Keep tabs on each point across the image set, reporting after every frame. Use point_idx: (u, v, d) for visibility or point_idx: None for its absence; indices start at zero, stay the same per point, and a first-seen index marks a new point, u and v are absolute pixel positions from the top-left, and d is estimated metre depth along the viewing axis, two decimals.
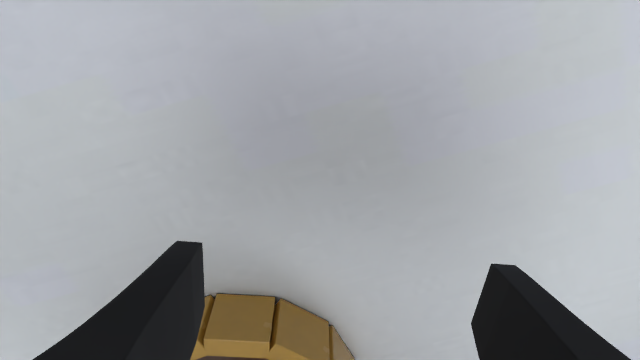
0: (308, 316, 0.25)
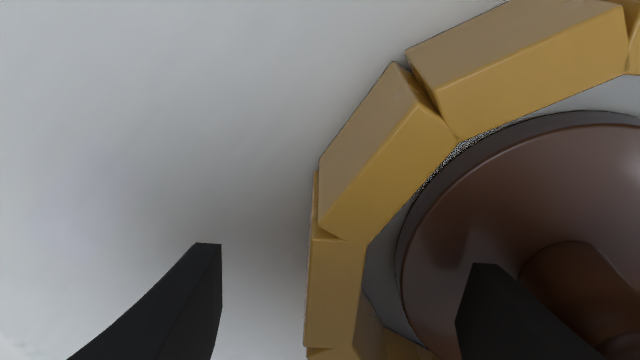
0: None
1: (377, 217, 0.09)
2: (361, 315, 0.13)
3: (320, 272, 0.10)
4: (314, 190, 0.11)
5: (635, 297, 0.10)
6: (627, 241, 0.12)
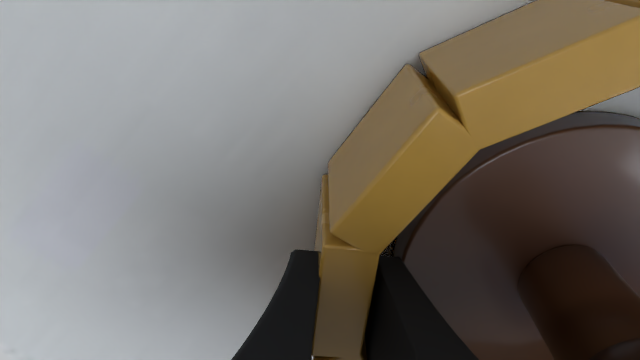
0: None
1: (392, 225, 0.09)
2: None
3: (331, 280, 0.09)
4: (323, 194, 0.11)
5: (638, 303, 0.10)
6: (629, 244, 0.12)
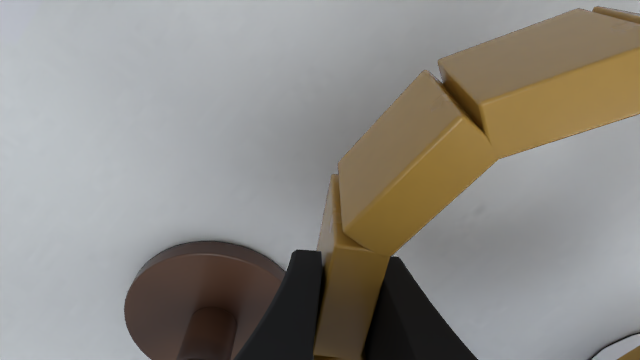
0: None
1: (405, 228, 0.09)
2: None
3: (339, 279, 0.09)
4: (333, 194, 0.11)
5: (210, 341, 0.20)
6: (240, 307, 0.22)
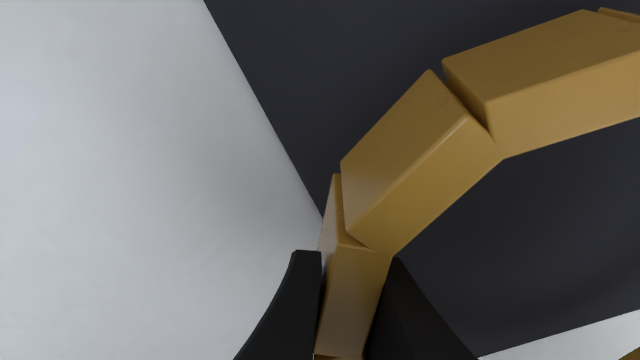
0: None
1: (408, 228, 0.09)
2: None
3: (341, 279, 0.09)
4: (335, 193, 0.11)
5: None
6: None
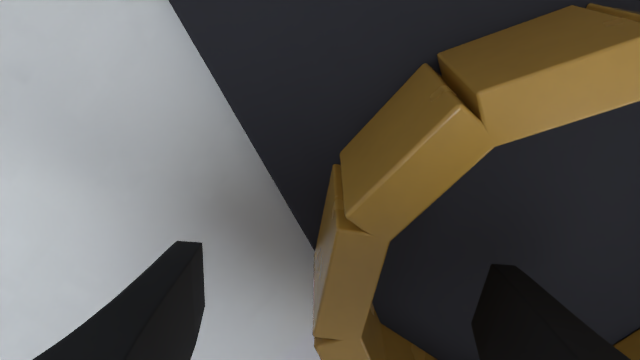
0: None
1: (404, 213, 0.09)
2: None
3: (341, 263, 0.10)
4: (335, 182, 0.11)
5: None
6: None
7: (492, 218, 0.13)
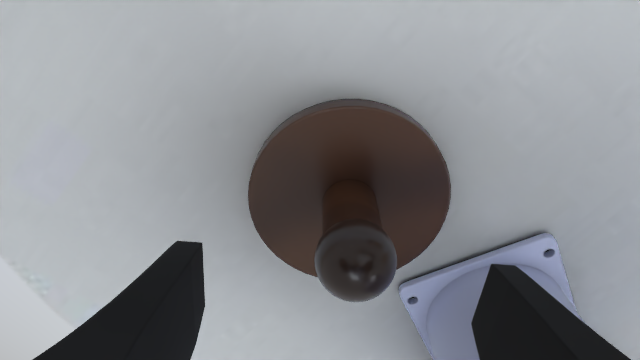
0: None
1: None
2: None
3: None
4: None
5: (363, 205, 0.18)
6: (383, 179, 0.19)
7: None
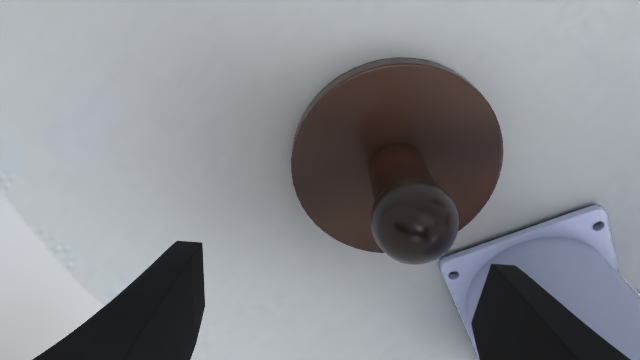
0: None
1: None
2: None
3: None
4: None
5: (418, 167, 0.17)
6: (433, 143, 0.19)
7: None
